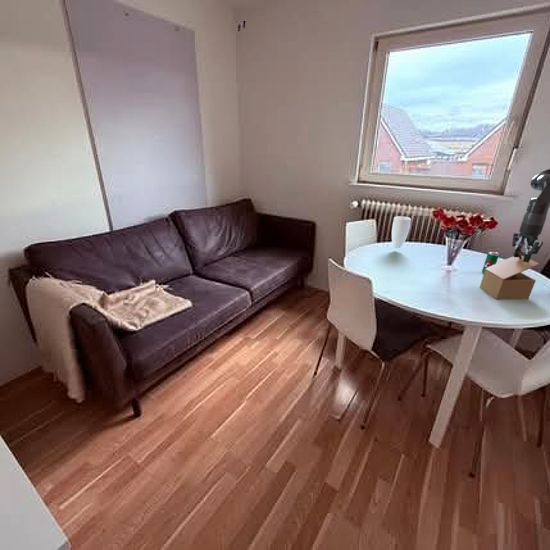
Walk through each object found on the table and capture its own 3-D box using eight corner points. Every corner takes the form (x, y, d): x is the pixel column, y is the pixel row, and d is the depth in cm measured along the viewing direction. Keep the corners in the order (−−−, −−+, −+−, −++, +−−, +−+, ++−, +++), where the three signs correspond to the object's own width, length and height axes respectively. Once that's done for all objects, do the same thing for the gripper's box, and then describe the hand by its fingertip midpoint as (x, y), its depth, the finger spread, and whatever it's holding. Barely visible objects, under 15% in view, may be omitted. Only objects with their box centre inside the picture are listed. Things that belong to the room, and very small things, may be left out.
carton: (509, 287, 152) (515, 269, 148) (528, 299, 141) (535, 280, 137) (479, 287, 151) (485, 269, 147) (496, 299, 140) (503, 280, 137)
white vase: (385, 248, 202) (391, 215, 193) (402, 249, 201) (408, 216, 192) (389, 253, 193) (396, 219, 184) (407, 254, 192) (414, 220, 183)
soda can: (494, 275, 165) (501, 254, 160) (483, 274, 165) (490, 253, 160) (489, 271, 169) (496, 251, 164) (479, 271, 170) (486, 250, 165)
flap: (518, 254, 145) (516, 246, 143) (539, 264, 134) (538, 255, 132) (485, 269, 147) (483, 261, 146) (503, 280, 137) (501, 271, 135)
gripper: (556, 226, 126) (541, 265, 133) (528, 218, 139) (516, 253, 146) (538, 227, 126) (524, 265, 133) (512, 218, 139) (501, 254, 146)
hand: (520, 259), depth 139 cm, fingers closed on flap, 5 cm apart
